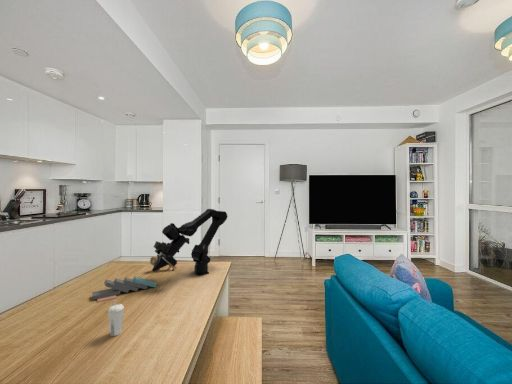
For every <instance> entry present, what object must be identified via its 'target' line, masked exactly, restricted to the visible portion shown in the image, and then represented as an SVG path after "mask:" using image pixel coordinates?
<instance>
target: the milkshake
mask: <svg viewBox="0 0 512 384" xmlns="http://www.w3.org/2000/svg"><path fill="white" fill-rule="evenodd" d="M124 311H125V306H124V305H123V304H122V303H117V304H114V299H111V306H110V307H109V308H107V315H108V324H109V326H108V327H109V335H110V336H111V337H116V336H119V335H121V334H122V331H123V322H124Z"/></svg>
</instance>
